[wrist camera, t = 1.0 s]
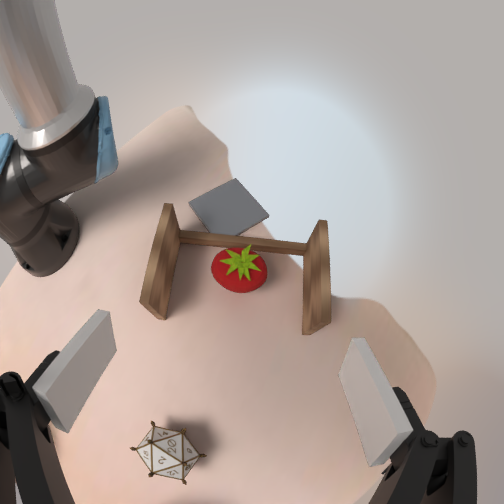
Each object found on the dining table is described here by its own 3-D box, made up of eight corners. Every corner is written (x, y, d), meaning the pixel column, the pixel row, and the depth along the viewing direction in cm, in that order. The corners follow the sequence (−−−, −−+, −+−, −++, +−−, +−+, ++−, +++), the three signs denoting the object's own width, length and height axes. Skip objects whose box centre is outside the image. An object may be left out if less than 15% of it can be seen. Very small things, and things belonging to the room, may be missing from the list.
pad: (188, 204, 47) (188, 202, 46) (235, 180, 50) (235, 178, 49) (219, 246, 44) (219, 244, 43) (268, 217, 47) (269, 215, 46)
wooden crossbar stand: (309, 334, 38) (331, 322, 30) (157, 318, 37) (139, 302, 29) (310, 250, 45) (327, 220, 36) (174, 235, 44) (164, 203, 36)
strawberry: (218, 260, 42) (216, 227, 33) (266, 271, 42) (276, 240, 33) (208, 296, 40) (202, 270, 31) (258, 307, 40) (267, 284, 31)
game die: (167, 432, 33) (132, 403, 28) (219, 442, 31) (190, 414, 26) (151, 480, 26) (108, 459, 21) (205, 496, 23) (168, 482, 18)
